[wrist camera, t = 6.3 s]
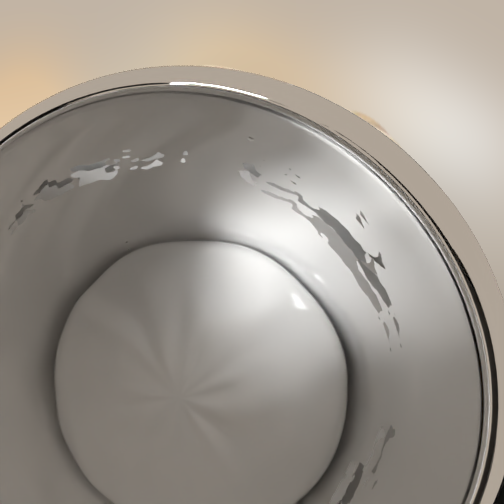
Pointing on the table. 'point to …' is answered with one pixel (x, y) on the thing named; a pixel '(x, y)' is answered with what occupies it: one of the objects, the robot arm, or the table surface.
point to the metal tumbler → (237, 304)
